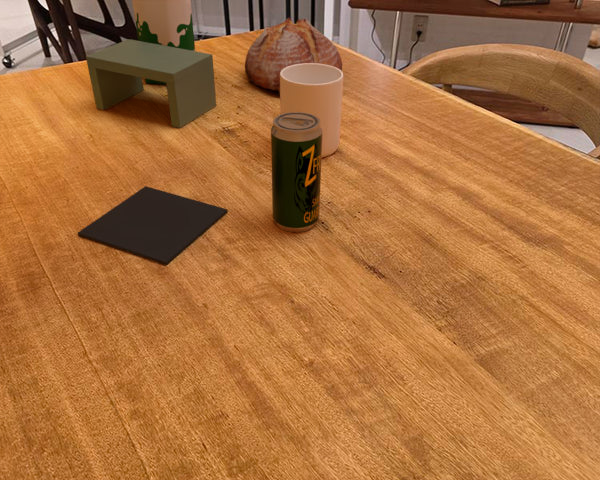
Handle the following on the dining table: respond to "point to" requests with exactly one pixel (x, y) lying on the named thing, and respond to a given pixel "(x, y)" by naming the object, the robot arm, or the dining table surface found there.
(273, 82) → the bread
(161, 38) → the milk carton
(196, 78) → the shelf
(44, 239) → the dining table surface
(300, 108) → the mug
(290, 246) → the dining table surface
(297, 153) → the beer can
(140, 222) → the mat
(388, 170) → the dining table surface
